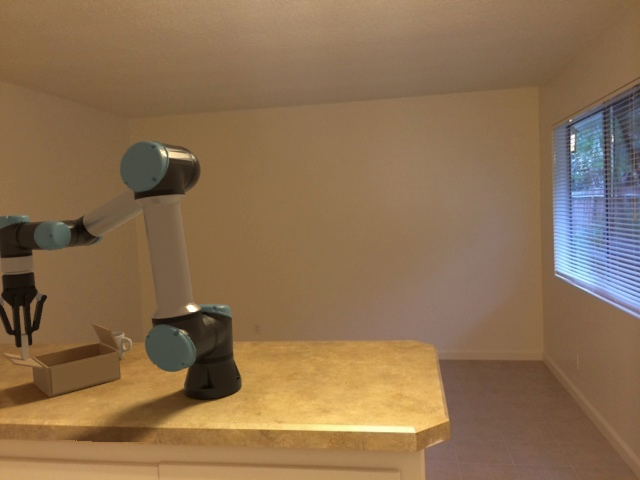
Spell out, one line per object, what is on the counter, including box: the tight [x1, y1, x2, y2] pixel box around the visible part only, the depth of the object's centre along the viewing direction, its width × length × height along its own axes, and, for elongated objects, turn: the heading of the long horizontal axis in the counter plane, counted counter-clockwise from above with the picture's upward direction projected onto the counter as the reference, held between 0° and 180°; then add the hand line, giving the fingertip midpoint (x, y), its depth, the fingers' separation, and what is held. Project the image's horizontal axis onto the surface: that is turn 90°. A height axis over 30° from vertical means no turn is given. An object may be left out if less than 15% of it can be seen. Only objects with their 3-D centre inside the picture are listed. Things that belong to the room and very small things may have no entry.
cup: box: [98, 331, 133, 359], centre depth 166 cm, size 11×8×8 cm
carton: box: [30, 342, 122, 398], centre depth 144 cm, size 17×19×8 cm
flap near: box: [1, 352, 43, 369], centre depth 135 cm, size 15×1×7 cm
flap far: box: [91, 322, 120, 350], centre depth 150 cm, size 15×1×7 cm, turn 43°
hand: (25, 358), depth 135 cm, fingers closed
